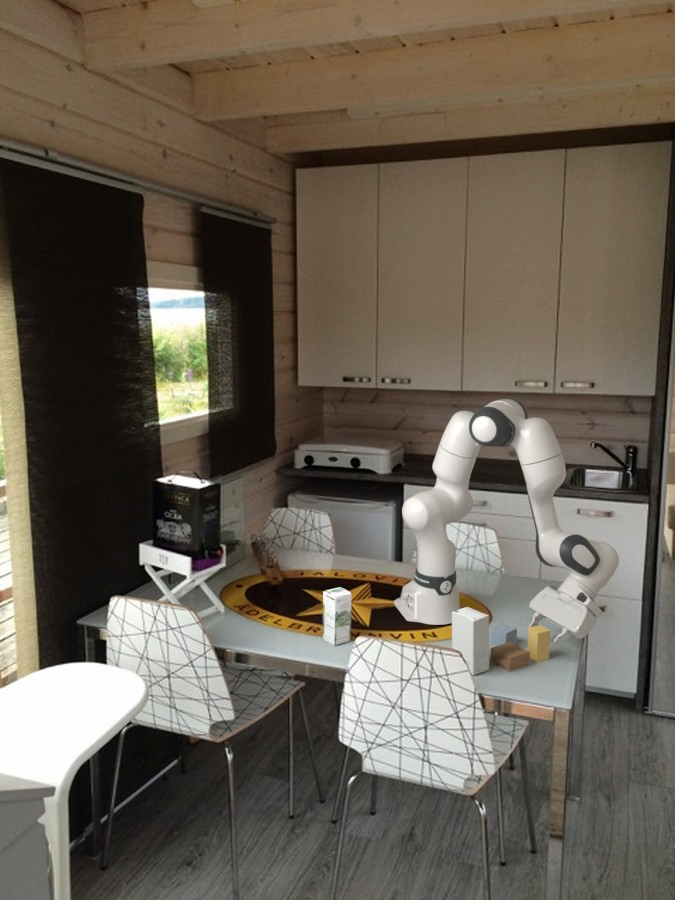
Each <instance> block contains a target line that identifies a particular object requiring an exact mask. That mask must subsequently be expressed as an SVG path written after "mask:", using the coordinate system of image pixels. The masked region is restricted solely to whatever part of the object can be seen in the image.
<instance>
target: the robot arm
mask: <svg viewBox="0 0 675 900" xmlns="http://www.w3.org/2000/svg"><path fill="white" fill-rule="evenodd" d="M444 429H445V430H444V431H443V434H442V436H441V439H440V441H439V444H438V446H437V447H438V448H437V449H436V453H435V455H434V458H433V462H432V471H433V473H434V474H435V476H436V481H435V485H434V486H433V487H432V488H431V489H429V490H425V491H420V492H417V493H416V494H414V495H412V496H411V497H409V498H408V499H406V500H405V501H404V503H403V505H402V508H401V514H402V519H403V522H404V523H405V524H406V526H407V527H408V528H409V529H411V530H412V532H413V535H414V537H415V541H416V546H417V547H416V549H417V567H414V568H413V572H414V575H413V579H411V580H410V581H409V582H407V583H406V584H404V586H403V587H402V590H401V593H400V597H398V598H396V599H395V600H394V601H393V605H394V606H395V608H396V609H397V610H398V611H399V612H400V614H401V615H402V616H403V618H404V619H405V620H406V621H407V622H413V623H421V624H425V625H431V626H432V625H435V626H437V625H438V626H439V625H443V626H444V625H448V624H449V625H450V624H452V612H453V611H456V610H459V609H462V607H461V606H460V593H459V591H460V590H459V587H458V585H457V578H458V577H457V571H456V552H457V551H456V550H457V549H456V546H455V543H454V542H453V541H452V540H450V539H449V537H448V534H447V525H449V524H451V523H455V522H458V521H460V520H462V519H463V518H465V517H466V516H468V515H469V514H470V512H472V509H473V506H474V505H473V504H474V501H473V500H474V499H473V496H472V494H471V492H470V491H469V485H470V479H471V475H472V471H473V469H474V466H475V463H476V460H477V457H478V454H479V452H480V449H481V447H482V446H483V447H491V448H493V447H494V448H495V447H500V448H507V447H509V446H512V448H513V449H514V450H515V451H516V455H517V457H518V460H519V463H520V467H521V470H522V473H523V477H524V481H525V485H526V491H527V498H528V503H529V506H530V507H529V508H530V510H531V515H532V519H533V524H534V529H535V553H536V556H537V558H538V560H539V561H540V562H542V564H544V565H545V566H547V567H551V568H553V567H554V568H561V569H565V570H567V571H568V573H569V574H568V576H567V577H566V578H565V580H563V582H562V583H561V585H560V586H559V587H558V586H556V585H553V584H552V585H548V586H546V587H545V588H543V589H542V590H540V591H539V593H537V594H536V595H535V597H533V598H532V600H531V601H530V602H529V604H528V605H529V606H528V608H529V609H530V610H531V611H532V612H533V615H532V620H531V623H530V624H529V625H528V628H529V627H534V626H539V624H540V623H539V622H541V621H543V619H544V620H546V621H548V622H550V623H551V624H552V625H555V626H556V627H558V628H560V629H561V633H559V634H558V635H556V634H554V635H553V637H552V638H550V642H552V643H553V644H554V645H556V646H559V645H560V644H561V643H562V641H565V640H567V639H569V638H570V637H571V636H572V635H573V637H574V636H575V638H577V639H579V640H581V639H583V638H585V637H586V636H588V634H589V633H590V632H591V630H592V629H593V628H594V626H595V624H596V622H597V619H598V618H600V617H601V616H602V615H603V611H602V610H601V609H600V607H599V606H598V605H597V603H596V601H595V599H596V597H597V596H598V593H599V591H600V590H601V589H602V588H604V587H606V585H607V584H608V582H610V579H611V578H612V577H613V576H614V574H615V572H616V571H617V570H618V569H617V568H618V567H619V563H620V557H619V554H618V552H617V551H616V550H615V549H614V548H613V547H612V546H611V545H610V544H608V543H606V542H605V541H596V540H592V539H589V538H587V537H584V535H581V534H577V533H572V532H565V531H564V530H563V529H562V528H561V527H560V525H559V521H558V516H557V514H556V513H557V512H556V509H555V504H554V494H555V493H556V491H557V490H558V489H559V488H560V487H561V486H562V485H563V483H564V481H565V479H566V477H567V470H566V463H565V460H564V455H563V453H562V449H561V447H560V444H559V441H558V439H557V437H556V435H555V433H554V431H553V429H552V427H551V426H550V424H549V422H548V421H547V420H546V419H544V418H541V417H529V413H528V409H527V407H526V406H525V404H524V403H523V402H522V401H521V400H519V399H517V398H513V397H504V398H500V399H497V400H494V401H492V402H490V403H488V404H486V405H485V406H483V407H481V408H479V409H478V410H475V412H472V411H469V410H460V411H457V412H455V413H454V414H453V415H451V418H450V420H449V421H448V423H447V425H446V427H445V428H444Z"/></svg>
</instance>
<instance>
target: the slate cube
mask: <svg viewBox="0 0 675 900" xmlns="http://www.w3.org/2000/svg"><path fill="white" fill-rule="evenodd" d="M517 634H518V628H516V627H513V626H510V625H509V624H504V623H500V624H497V625H495V626H492V627H491V628H490V637H489V646H491V645H492V646H491V647H494V646H495V647H496V646H499V645H502V644H506V643H509V642H511V643H513V644H515V645H517Z"/></svg>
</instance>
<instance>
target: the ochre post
mask: <svg viewBox="0 0 675 900" xmlns="http://www.w3.org/2000/svg"><path fill="white" fill-rule="evenodd" d="M527 631H528V634H527V646H526V647H527V649H526V650H527V651H529V652H530V657H529V659H531V660H533V661H534V662H536V663H539V662H544V661H547V660H549V659H550V648H551V646H550V645H551V630H550V629H548V628H547V627H545V626H543V625H542V624H540V625H539V624H538V626H534V627H529V626H528V630H527ZM543 660H544V661H543Z"/></svg>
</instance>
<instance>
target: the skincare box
mask: <svg viewBox="0 0 675 900" xmlns="http://www.w3.org/2000/svg"><path fill="white" fill-rule="evenodd" d="M461 608H462V607H461ZM452 648H453V649H455V650H458V651H460V652H461V653H462V655H463V657H464V659H465V660H466V662H467V664H468V666H469V669H470V671H471V673H472V674H471V675H472V676H476V675H478V674H483V673H484V672H487V671H489V670H490V614H488V613H487V614H486V613H483V612H480V611H479V610H476V609H474V608H471V607H469V606H466V607H463V608H462V609H459V610H456V611H453V612H452V623H451V649H452Z"/></svg>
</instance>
